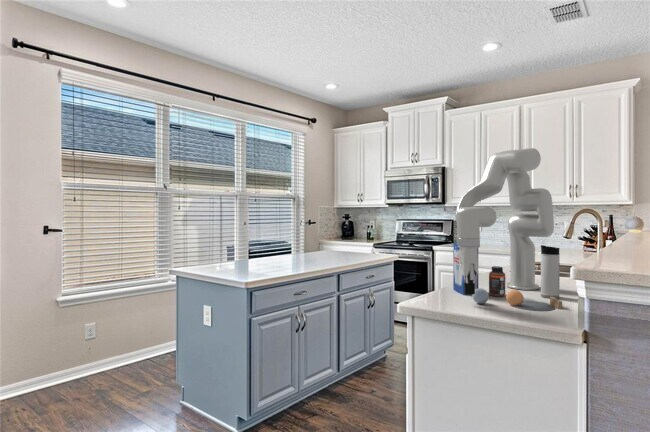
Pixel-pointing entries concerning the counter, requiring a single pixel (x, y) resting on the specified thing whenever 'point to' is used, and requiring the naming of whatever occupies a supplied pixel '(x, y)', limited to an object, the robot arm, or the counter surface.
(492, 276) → the supplement bottle
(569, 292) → the counter surface
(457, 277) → the milk carton
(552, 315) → the counter surface
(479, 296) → the light blue ball
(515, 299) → the orange ball
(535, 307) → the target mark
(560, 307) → the rail
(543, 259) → the travel mug
